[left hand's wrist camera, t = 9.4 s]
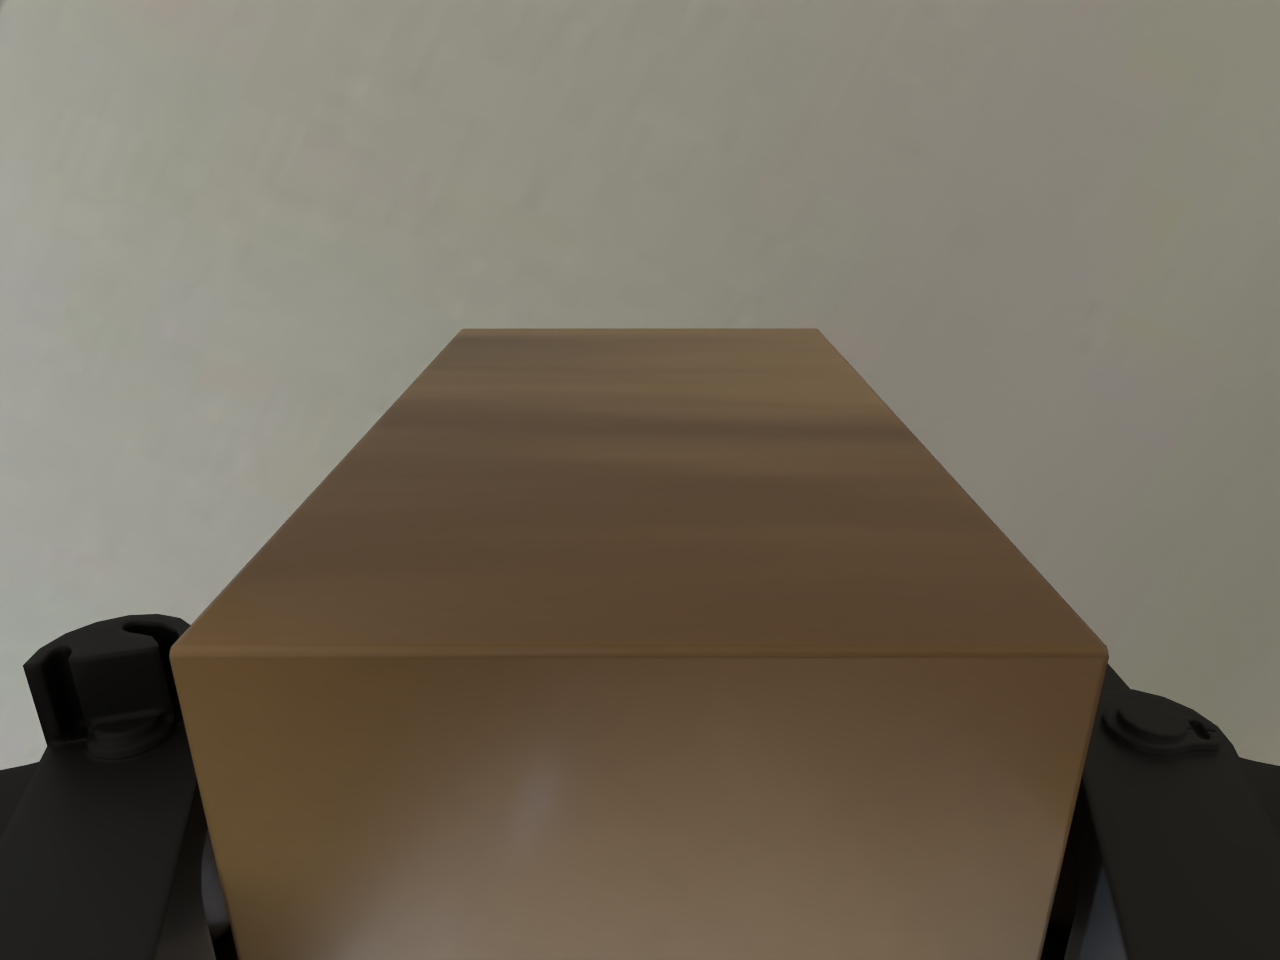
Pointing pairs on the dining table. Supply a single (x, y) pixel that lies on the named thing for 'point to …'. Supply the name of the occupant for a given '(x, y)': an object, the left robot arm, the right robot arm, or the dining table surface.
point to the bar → (639, 675)
